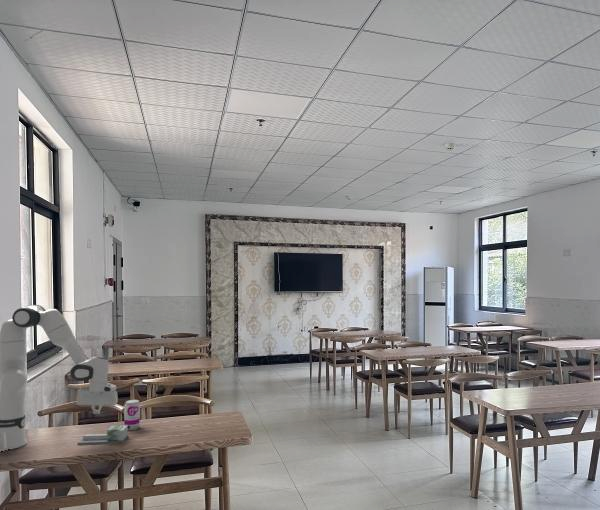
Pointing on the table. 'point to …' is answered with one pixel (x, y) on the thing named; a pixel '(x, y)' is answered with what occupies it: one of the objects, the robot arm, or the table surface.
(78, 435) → the table surface
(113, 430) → the keeper
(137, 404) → the supplement can
